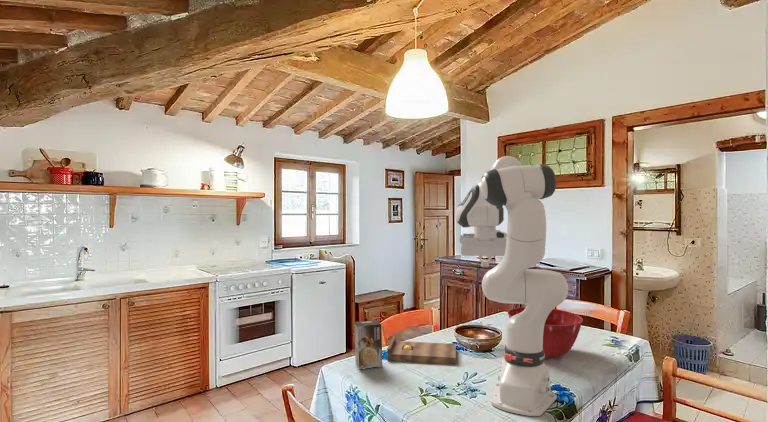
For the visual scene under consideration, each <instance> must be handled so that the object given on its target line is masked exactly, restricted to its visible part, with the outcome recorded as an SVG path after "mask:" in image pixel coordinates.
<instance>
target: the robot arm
mask: <svg viewBox="0 0 768 422" xmlns="http://www.w3.org/2000/svg"><path fill="white" fill-rule="evenodd" d="M556 189H557V177H556V173H555V171H554V170H553V169H552V168H551V167H550V166H549V165H546V164H540V163H539V164H538V163H537V164H532V165H531V164H530V165H522V162H521V161H520V160H519V159H517V157H515V156H510V155H504V156H501V157H499V158H497V160H495V161H494V163H493V164H492V166H491V167H490V169H489V170H488V171H485V172H484V173H483V174H482V176H481V180H480V182H479V183H476V184H475V185H473V186H472V187H471V188H470V190H469V191H468V193H467V194H466V196H465V197H464V199H463V200H462V201H461V202H460V203H459V204H458V205H457V207H456V210H455V220H456V223H457V224H458V225H459V226H460V227H462V228H473V233H462V234H460V236H459V244H460V255H461V256H463V257H464V256H465V257H467V256H468V257H469V256H470V257H478V259H479V261H480V263H481V264H480V266H481V268H482V267H484V268H489V266H490V265H489V264H490V262H491V260H492V257H502V258H501V260H500V261H499V263H497V265H495V266H494V267H493V268H491V269H489V270H488V271H486V273H485V274H484V276H483V278H482V280H481V288H482V289H481V290H482V292H483V294H484V296H485V298H487V300H488V301H493V302H497V303H501V304H514V305H517V304H518V305H526V306H525V307H526V308H525V310H524V311H522V312H521V313H519V314H516V315H514V316H512V317H511V318H509V317H508V320H507V321H506V322H505V323H506V324H505V345H504V349H503V359H502V360H501V362H500V363H501V364H500V365H501V367H500V368H501V371H500V375H498V377H497V380H498V381H496V382H494V384H493V392H492V398H491V405H492V406H493V407H495V408H496V409H498V410H499V409H500V410H502V411H505V412H509V413H512V414H516V415H522V416H529V417H541V416H542V415H543V414H544V413H545V412H546V411H547V409H549V408H550V407H551V405H553V404H554V402H555V401H556V400H557V398H558V396H557V394H556V393H555V392H553V391H551V390H552V389H551V371H550V369H549V367H548V366H547V365H546V364H545V361H546V358H545V353H544V349H543V331H544V324H545V321H546V319H547V317H548V315H549V314H550V312H551V311H552V310H553V309H556V307H558V306H559V305H561V304H562V303H563V302H564V301H565V300H566V298H567V297H568V293H569V285H568V281H567V279H566V278H565V276H564V275H563V274H562V273H561V272H558V271H554V270H549V269H538V268H536V269H535V268H533V267H535V266H537V265H539V264H540V262H542V260H543V259H544V257H545V255H546V254H545V253H546V241H547V240H546V239H547V216H546V210H545V206H544V204H543V202H542V201H541V200H544V199H547V198H549V197H551V196H553V195H554V193H555V191H556ZM504 207H505V209H506V211H507V222H506V232H505V231H501V230H498V229H497V226H500V225H501V224H502V223H503V221H504V220H505V219H504V218H505V217H504V212H505V211H504ZM483 257H487V259H488V260H487V261H483ZM532 268H533V269H532Z"/></svg>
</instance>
